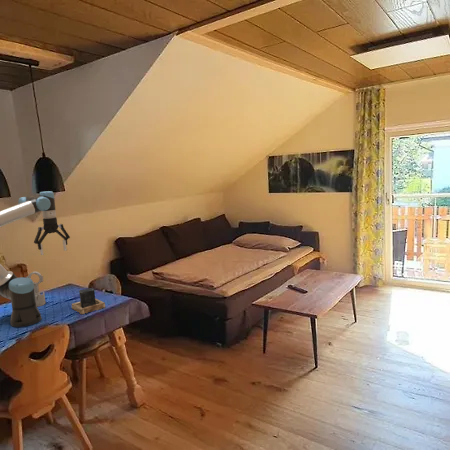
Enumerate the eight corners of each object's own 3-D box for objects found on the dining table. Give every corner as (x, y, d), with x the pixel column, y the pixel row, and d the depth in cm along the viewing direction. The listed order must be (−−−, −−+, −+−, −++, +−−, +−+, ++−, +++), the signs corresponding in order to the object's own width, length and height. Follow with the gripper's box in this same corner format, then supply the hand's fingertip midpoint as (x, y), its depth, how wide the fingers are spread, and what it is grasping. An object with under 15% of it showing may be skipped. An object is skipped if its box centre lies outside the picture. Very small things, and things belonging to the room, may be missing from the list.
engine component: (32, 302, 251) (24, 307, 241) (27, 270, 248) (20, 274, 238) (49, 301, 251) (43, 306, 241) (45, 269, 248) (38, 273, 238)
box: (94, 304, 238) (92, 287, 237) (96, 307, 233) (94, 289, 232) (80, 307, 235) (78, 289, 233) (82, 310, 230) (80, 292, 228)
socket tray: (81, 314, 224) (81, 309, 224) (72, 308, 234) (71, 303, 234) (105, 307, 233) (104, 302, 233) (94, 302, 244) (94, 297, 243)
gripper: (29, 220, 227) (34, 257, 230) (73, 215, 243) (76, 249, 246) (25, 219, 232) (29, 255, 235) (68, 214, 249) (72, 248, 252)
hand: (53, 252), depth 241 cm, fingers open, 13 cm apart
